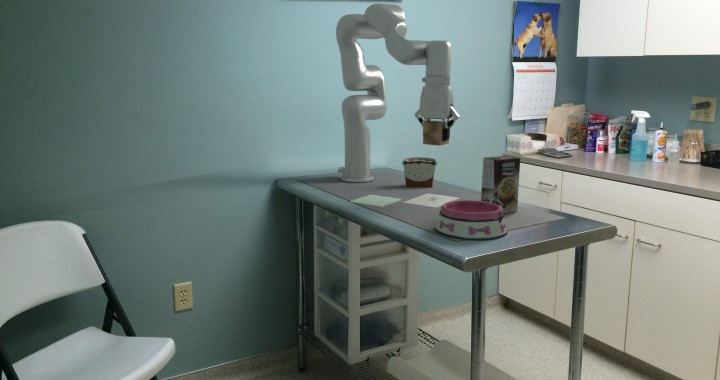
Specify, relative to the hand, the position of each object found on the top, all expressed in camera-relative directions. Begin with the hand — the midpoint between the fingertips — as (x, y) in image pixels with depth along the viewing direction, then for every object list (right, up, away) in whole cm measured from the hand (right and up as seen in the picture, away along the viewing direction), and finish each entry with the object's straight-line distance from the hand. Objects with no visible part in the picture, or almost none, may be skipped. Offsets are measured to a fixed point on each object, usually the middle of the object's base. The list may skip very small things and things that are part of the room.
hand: (436, 139), depth 185 cm
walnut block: (0, -1, 0) cm, 1 cm away
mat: (-19, -20, +2) cm, 27 cm away
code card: (-1, -19, +2) cm, 19 cm away
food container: (-3, -15, +25) cm, 29 cm away
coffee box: (+17, -22, -11) cm, 31 cm away
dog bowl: (+5, -27, -31) cm, 41 cm away
